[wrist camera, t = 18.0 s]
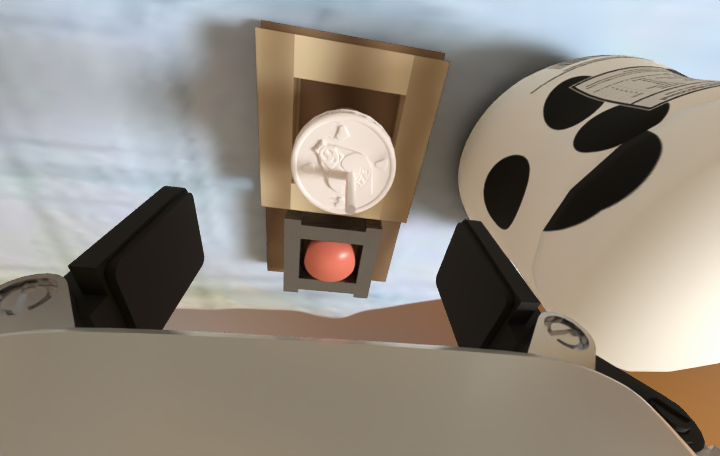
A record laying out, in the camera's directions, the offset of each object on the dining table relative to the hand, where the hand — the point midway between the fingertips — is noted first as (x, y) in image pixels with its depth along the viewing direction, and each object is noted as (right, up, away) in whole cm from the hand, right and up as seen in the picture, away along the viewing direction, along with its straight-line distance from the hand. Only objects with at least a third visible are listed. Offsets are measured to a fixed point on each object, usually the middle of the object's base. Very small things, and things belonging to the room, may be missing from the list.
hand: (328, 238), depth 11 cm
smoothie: (0, +9, +15) cm, 18 cm away
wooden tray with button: (-1, +6, +19) cm, 20 cm away
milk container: (+19, +8, +18) cm, 27 cm away
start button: (-2, -1, +21) cm, 21 cm away
